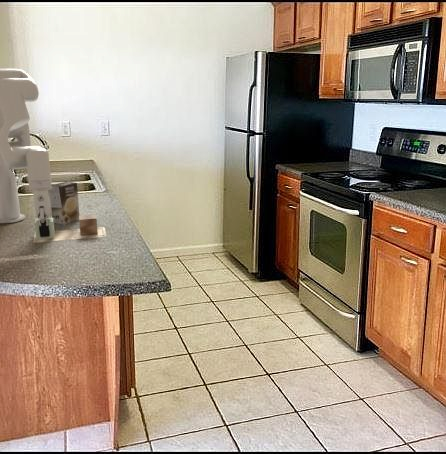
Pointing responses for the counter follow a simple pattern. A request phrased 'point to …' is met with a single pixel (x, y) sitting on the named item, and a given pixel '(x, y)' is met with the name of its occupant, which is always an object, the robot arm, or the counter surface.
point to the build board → (71, 235)
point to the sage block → (51, 229)
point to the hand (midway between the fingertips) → (45, 233)
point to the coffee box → (64, 202)
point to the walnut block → (88, 225)
